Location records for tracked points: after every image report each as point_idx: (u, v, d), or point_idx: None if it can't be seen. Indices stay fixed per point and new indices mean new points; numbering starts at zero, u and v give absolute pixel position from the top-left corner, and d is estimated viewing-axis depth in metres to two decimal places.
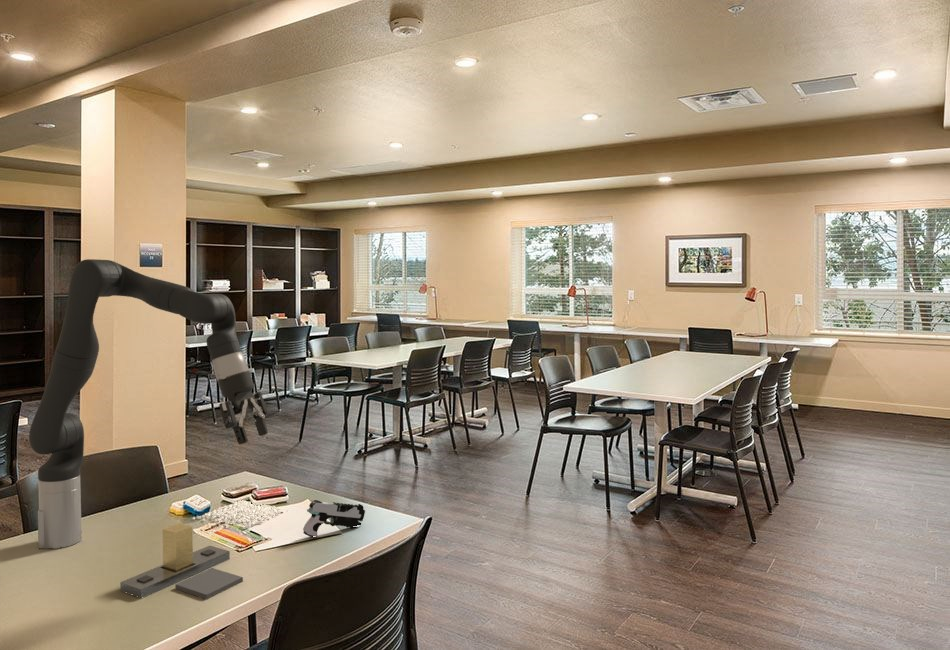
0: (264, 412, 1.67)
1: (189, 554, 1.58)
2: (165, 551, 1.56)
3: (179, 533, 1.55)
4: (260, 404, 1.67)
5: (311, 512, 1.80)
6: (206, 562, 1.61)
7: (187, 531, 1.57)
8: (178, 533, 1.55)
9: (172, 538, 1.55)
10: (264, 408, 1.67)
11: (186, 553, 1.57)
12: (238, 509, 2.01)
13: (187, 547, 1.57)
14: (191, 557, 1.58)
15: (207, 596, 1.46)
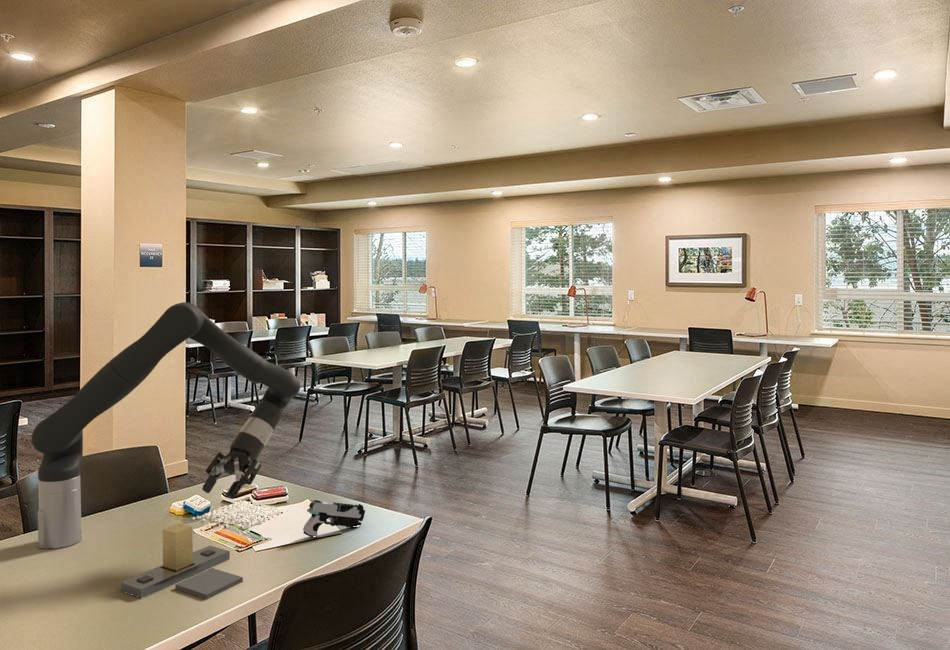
0: None
1: (189, 554, 1.58)
2: (165, 551, 1.56)
3: (179, 533, 1.55)
4: None
5: (311, 512, 1.80)
6: (206, 562, 1.61)
7: (187, 531, 1.57)
8: (178, 533, 1.55)
9: (172, 538, 1.55)
10: None
11: (186, 553, 1.57)
12: (238, 509, 2.01)
13: (187, 547, 1.57)
14: (191, 557, 1.58)
15: (207, 596, 1.46)
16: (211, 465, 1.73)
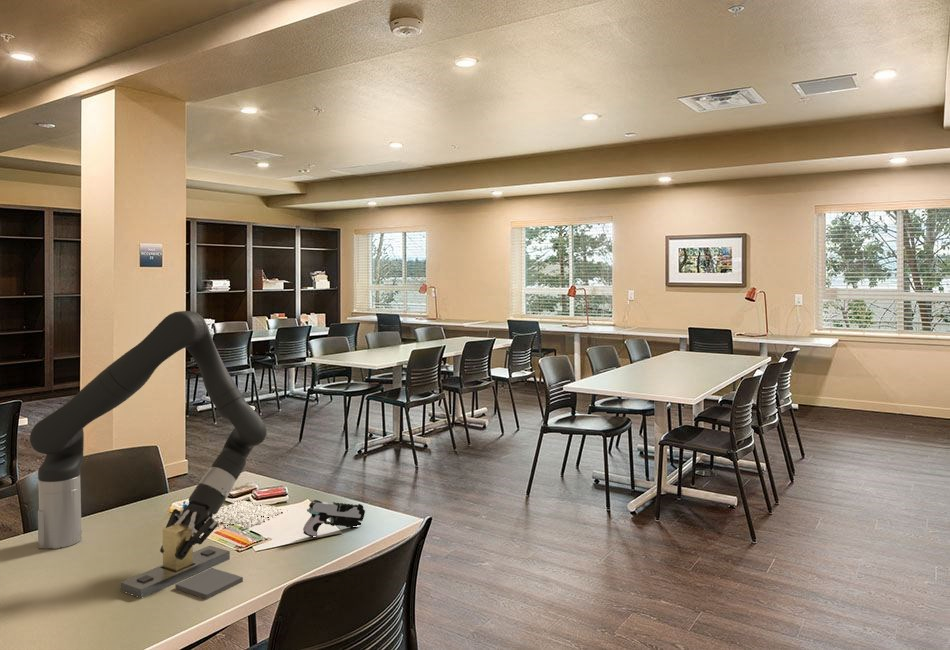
0: None
1: (189, 554, 1.58)
2: (165, 551, 1.56)
3: (179, 533, 1.55)
4: None
5: (311, 512, 1.80)
6: (206, 562, 1.61)
7: (187, 531, 1.57)
8: (178, 533, 1.55)
9: (172, 538, 1.55)
10: None
11: None
12: (238, 509, 2.01)
13: None
14: (191, 557, 1.58)
15: (207, 596, 1.46)
16: (169, 523, 1.61)
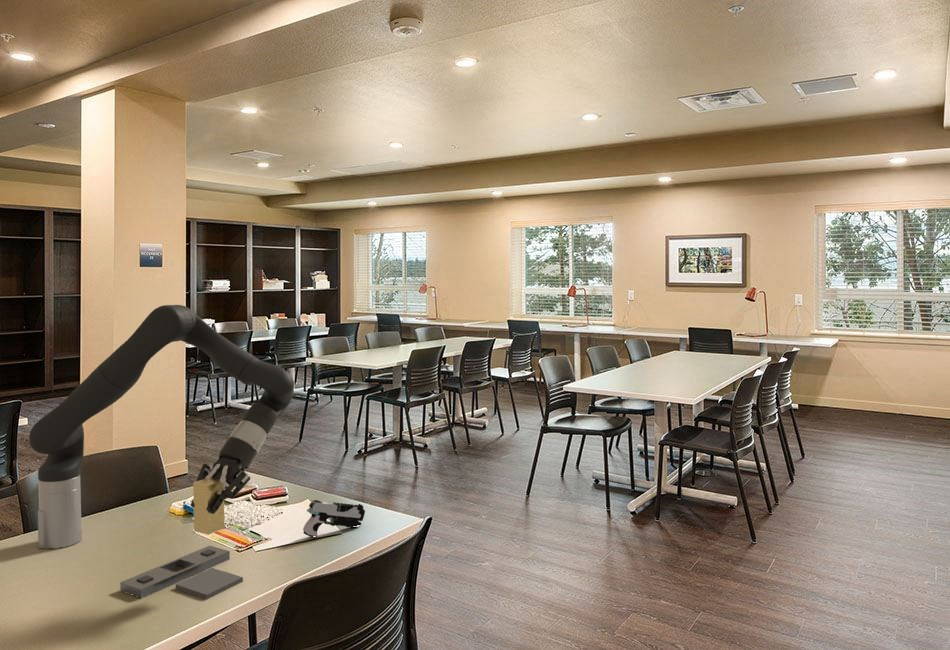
0: None
1: (221, 508, 1.52)
2: (196, 505, 1.50)
3: (211, 486, 1.49)
4: None
5: (311, 512, 1.80)
6: (206, 562, 1.61)
7: (219, 484, 1.51)
8: (209, 486, 1.49)
9: (203, 491, 1.49)
10: None
11: None
12: (238, 509, 2.01)
13: None
14: (223, 512, 1.52)
15: (207, 596, 1.46)
16: (199, 478, 1.55)
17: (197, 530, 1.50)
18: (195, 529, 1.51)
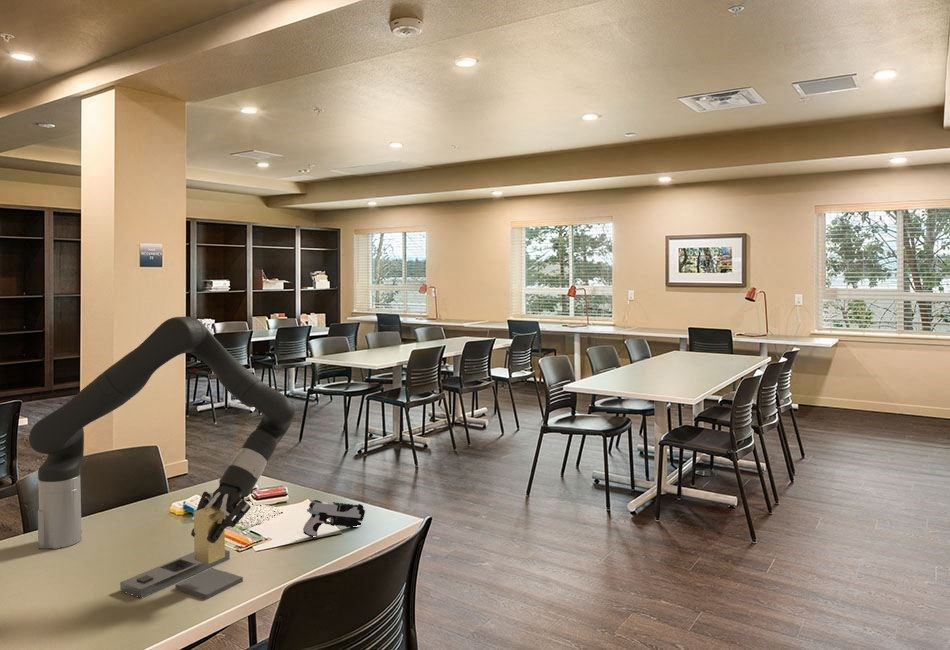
0: None
1: (221, 537, 1.52)
2: (196, 534, 1.50)
3: (211, 516, 1.49)
4: None
5: (311, 512, 1.80)
6: None
7: (219, 513, 1.51)
8: (210, 515, 1.49)
9: (203, 520, 1.49)
10: None
11: None
12: None
13: None
14: (223, 540, 1.53)
15: (207, 596, 1.46)
16: (200, 506, 1.55)
17: (198, 560, 1.51)
18: (196, 558, 1.51)
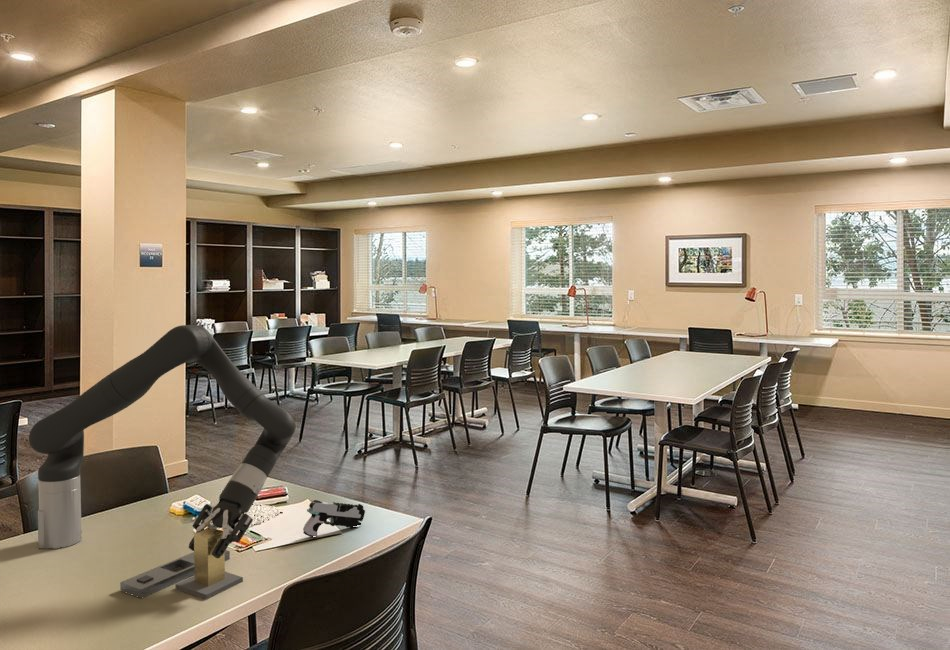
0: None
1: (221, 559, 1.52)
2: (196, 556, 1.51)
3: (211, 538, 1.50)
4: None
5: (311, 512, 1.80)
6: None
7: (219, 536, 1.52)
8: (210, 538, 1.49)
9: (204, 543, 1.49)
10: None
11: (218, 559, 1.52)
12: None
13: None
14: (223, 563, 1.53)
15: (207, 596, 1.46)
16: (198, 519, 1.56)
17: (198, 582, 1.51)
18: (196, 580, 1.51)
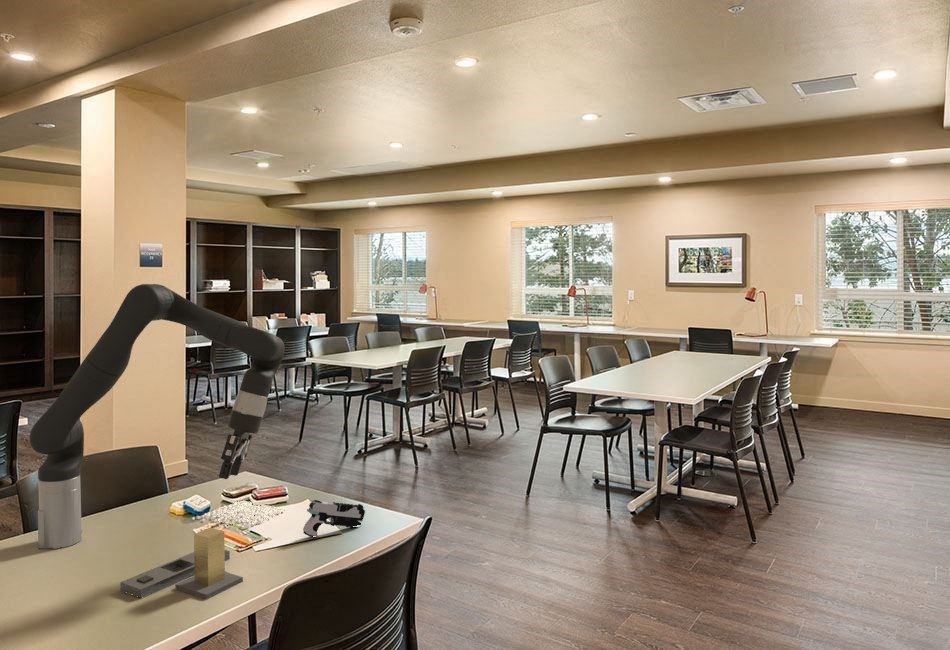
0: (244, 455, 1.72)
1: (221, 559, 1.52)
2: (196, 556, 1.51)
3: (211, 538, 1.50)
4: None
5: (311, 512, 1.80)
6: None
7: (219, 536, 1.52)
8: (210, 538, 1.49)
9: (204, 543, 1.49)
10: (246, 451, 1.72)
11: (218, 559, 1.52)
12: (238, 509, 2.01)
13: (219, 552, 1.52)
14: (223, 563, 1.53)
15: (207, 596, 1.46)
16: None
17: (198, 582, 1.51)
18: (196, 580, 1.51)
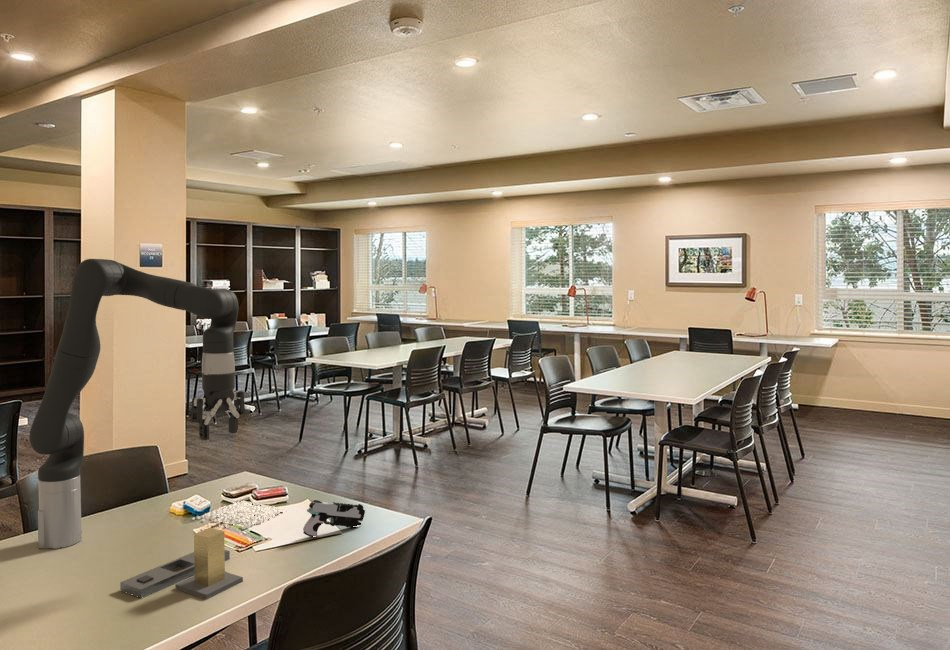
0: (240, 412, 1.71)
1: (221, 559, 1.52)
2: (196, 556, 1.51)
3: (211, 538, 1.50)
4: (239, 403, 1.71)
5: (311, 512, 1.80)
6: None
7: (219, 536, 1.52)
8: (210, 538, 1.49)
9: (204, 543, 1.49)
10: (241, 408, 1.71)
11: (218, 559, 1.52)
12: (238, 509, 2.01)
13: (219, 552, 1.52)
14: (223, 563, 1.53)
15: (207, 596, 1.46)
16: None
17: (198, 582, 1.51)
18: (196, 580, 1.51)
